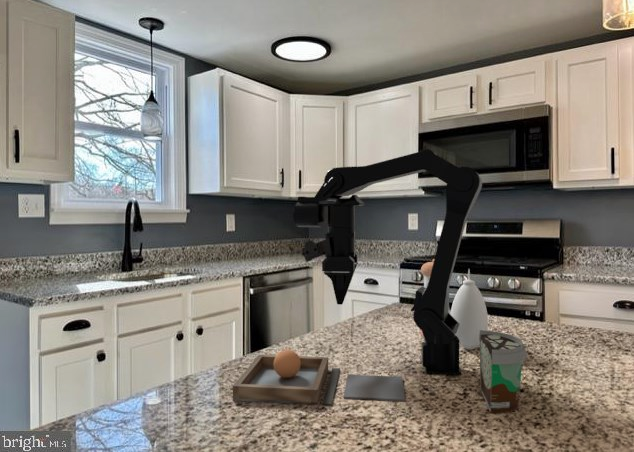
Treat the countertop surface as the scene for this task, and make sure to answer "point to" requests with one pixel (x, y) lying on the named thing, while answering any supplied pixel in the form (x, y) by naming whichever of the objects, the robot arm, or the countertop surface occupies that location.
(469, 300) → the sauce bottle
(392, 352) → the countertop surface
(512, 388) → the food container
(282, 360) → the ball
